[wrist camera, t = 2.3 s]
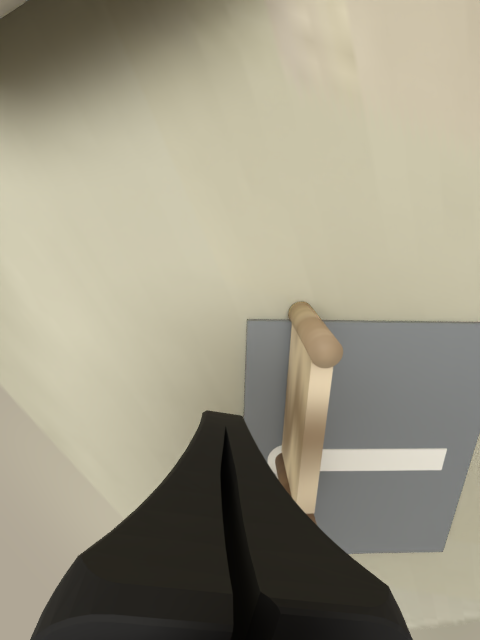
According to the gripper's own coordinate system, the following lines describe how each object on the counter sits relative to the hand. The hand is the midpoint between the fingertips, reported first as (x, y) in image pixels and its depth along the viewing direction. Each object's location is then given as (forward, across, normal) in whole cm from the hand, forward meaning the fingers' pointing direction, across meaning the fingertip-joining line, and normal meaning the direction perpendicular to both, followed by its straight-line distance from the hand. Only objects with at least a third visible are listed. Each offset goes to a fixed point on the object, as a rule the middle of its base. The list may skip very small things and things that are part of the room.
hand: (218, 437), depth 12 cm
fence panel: (+9, -5, +2) cm, 10 cm away
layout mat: (+9, -11, +7) cm, 16 cm away
